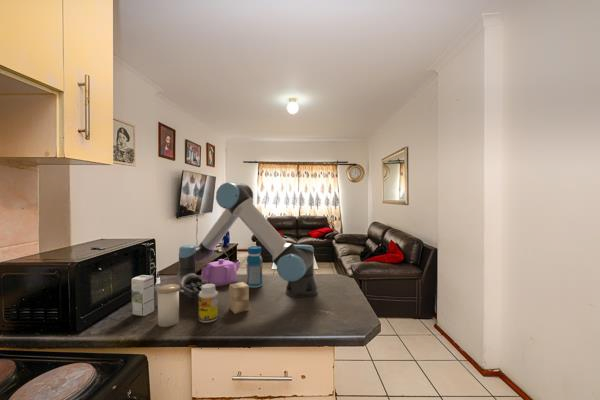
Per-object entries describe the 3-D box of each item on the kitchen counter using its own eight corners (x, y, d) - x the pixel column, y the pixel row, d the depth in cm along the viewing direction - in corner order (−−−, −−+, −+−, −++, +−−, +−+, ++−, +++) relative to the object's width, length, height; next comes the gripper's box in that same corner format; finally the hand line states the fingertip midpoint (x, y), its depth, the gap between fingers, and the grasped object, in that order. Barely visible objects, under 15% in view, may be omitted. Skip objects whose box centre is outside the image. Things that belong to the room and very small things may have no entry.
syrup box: (154, 311, 111) (154, 275, 111) (142, 317, 106) (142, 279, 106) (143, 309, 113) (143, 274, 113) (131, 315, 107) (130, 278, 107)
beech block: (243, 305, 118) (243, 281, 118) (248, 310, 113) (248, 285, 113) (229, 308, 114) (229, 284, 114) (234, 313, 109) (234, 288, 109)
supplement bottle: (194, 320, 103) (194, 286, 103) (210, 313, 109) (209, 281, 109) (206, 325, 99) (206, 289, 99) (222, 318, 105) (222, 284, 105)
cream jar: (183, 319, 104) (183, 284, 104) (170, 328, 97) (170, 291, 97) (166, 317, 106) (166, 283, 106) (152, 325, 99) (152, 289, 99)
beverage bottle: (251, 289, 138) (251, 249, 137) (243, 285, 144) (243, 247, 144) (265, 285, 143) (265, 247, 143) (256, 281, 150) (257, 245, 149)
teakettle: (199, 286, 141) (199, 262, 141) (211, 277, 158) (211, 255, 158) (231, 287, 140) (232, 263, 140) (241, 277, 157) (241, 256, 157)
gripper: (206, 288, 130) (222, 305, 111) (176, 294, 123) (188, 312, 103) (206, 272, 130) (222, 286, 111) (176, 277, 123) (188, 292, 103)
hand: (205, 299), depth 107 cm, fingers closed
